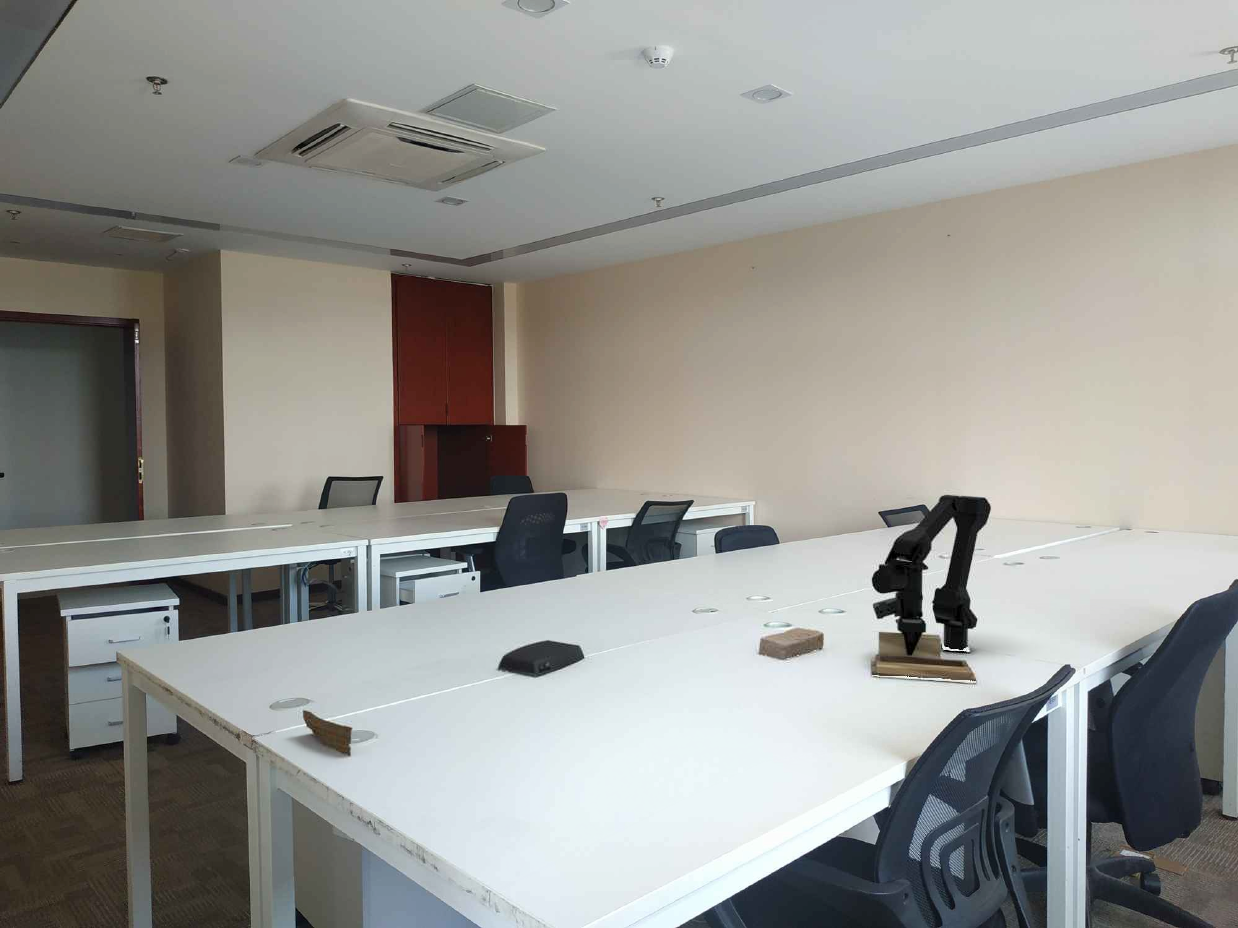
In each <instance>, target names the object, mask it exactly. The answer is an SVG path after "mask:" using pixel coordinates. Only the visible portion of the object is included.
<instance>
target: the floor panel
mask: <svg viewBox="0 0 1238 928" xmlns="http://www.w3.org/2000/svg"><path fill="white" fill-rule="evenodd" d="M874 656H875V660H871V661H870V670H872V671H871V676H872V675H879V676H907V677H908V676H909V677H918V678H921V677H922V678H942V679H951V680H970V681H971V680H972V681H976V682H977V678H976V676H975V674H974V672H973V670H972V667H970V666H969V664H968V662H967V661H966V660H965V659H964V660H963V659H962V660H961V659H950V658H949V659H948V658H947V659H945V658H940V659H933V658H918V657H902V656H886V655H879V654H875V655H874Z"/></svg>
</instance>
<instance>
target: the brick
mask: <svg viewBox="0 0 1238 928" xmlns="http://www.w3.org/2000/svg"><path fill="white" fill-rule="evenodd" d="M824 636H825V634H824V633H823V632H822V631H819V630H816V629H815V630H814V629H810V628H808V629H807V628H803V627H802V628H800V627H795V628H791V629H788V630H786V631H784V632H779V633H773V634H769V635H766V636H764V637H763V636H762V637H760V639H759V640H760V641H759V645H758V646H759V648H758V653H759V654H760V655H761V654H762V655H761V656H765V655H767V656H766V657H769V656H770V658H772V657H774V658H773V659H775V658H777V659H776V660H779V659H780V661H785V660H788V659H787V658H790V659H792V658H791V657H793V658H795V657H794V656H796V657H798V656H797V655H800V656H802V655H801V654H804V655H805V653H807V654H809V653H808V652H811V653H813V652H812V651H814V650H817V649H819V650H821V649H823V647H824V641H825V638H824ZM817 651H818V650H817ZM814 652H815V651H814ZM784 659H785V660H784Z"/></svg>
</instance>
